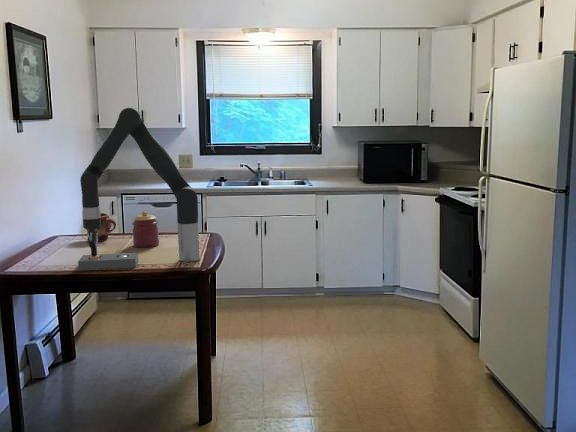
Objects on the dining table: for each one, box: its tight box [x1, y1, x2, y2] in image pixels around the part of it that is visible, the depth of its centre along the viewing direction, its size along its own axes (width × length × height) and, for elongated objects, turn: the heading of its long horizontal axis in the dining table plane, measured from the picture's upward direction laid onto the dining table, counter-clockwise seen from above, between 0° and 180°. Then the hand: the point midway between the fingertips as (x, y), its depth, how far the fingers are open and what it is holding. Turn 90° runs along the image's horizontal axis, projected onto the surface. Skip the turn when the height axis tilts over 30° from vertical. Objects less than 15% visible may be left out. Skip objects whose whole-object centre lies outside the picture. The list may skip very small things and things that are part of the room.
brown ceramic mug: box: [85, 212, 117, 243], centre depth 327 cm, size 20×12×14 cm, turn 76°
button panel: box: [77, 252, 139, 271], centre depth 273 cm, size 24×12×4 cm, turn 98°
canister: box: [131, 210, 160, 249], centre depth 312 cm, size 13×13×18 cm
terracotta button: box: [90, 254, 100, 259], centre depth 272 cm, size 4×4×3 cm
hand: (94, 255), depth 271 cm, fingers closed
